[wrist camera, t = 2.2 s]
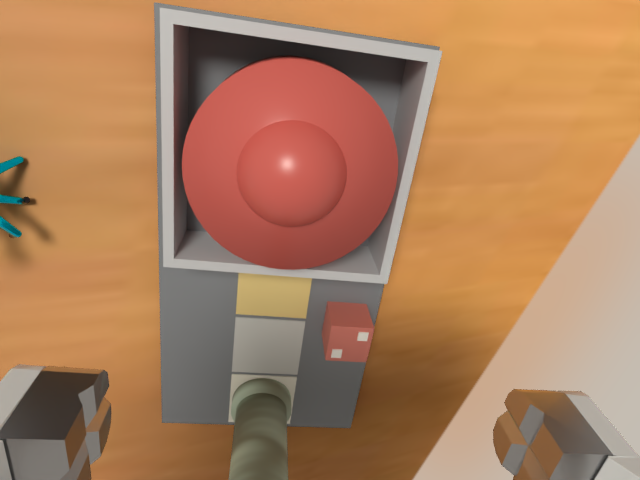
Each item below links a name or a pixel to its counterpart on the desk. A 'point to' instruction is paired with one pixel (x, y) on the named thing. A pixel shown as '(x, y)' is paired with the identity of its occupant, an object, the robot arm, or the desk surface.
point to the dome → (289, 163)
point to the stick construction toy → (11, 199)
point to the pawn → (260, 430)
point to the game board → (258, 281)
